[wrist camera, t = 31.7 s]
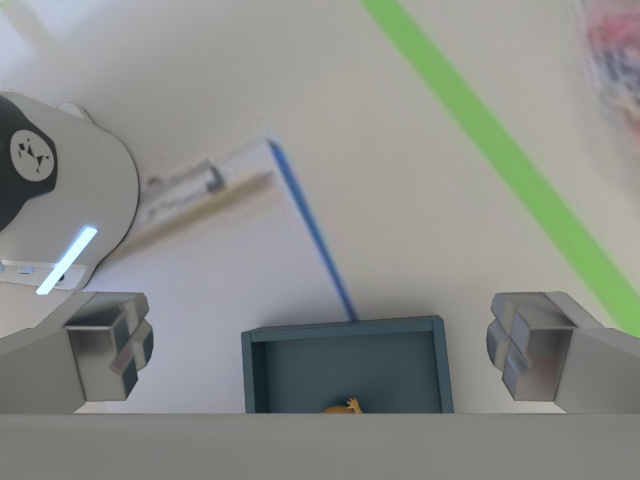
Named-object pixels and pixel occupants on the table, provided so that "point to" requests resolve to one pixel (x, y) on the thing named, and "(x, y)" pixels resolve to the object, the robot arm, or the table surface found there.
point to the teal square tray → (348, 367)
